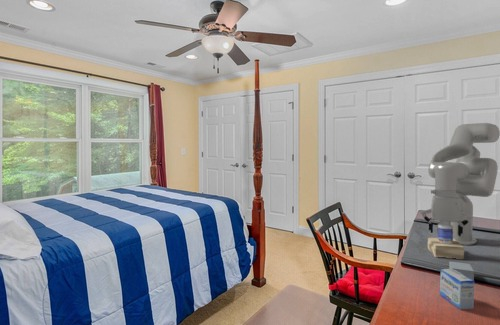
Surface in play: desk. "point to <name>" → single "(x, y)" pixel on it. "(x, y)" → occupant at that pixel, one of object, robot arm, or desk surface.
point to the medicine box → (457, 289)
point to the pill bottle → (445, 232)
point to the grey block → (462, 269)
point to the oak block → (446, 249)
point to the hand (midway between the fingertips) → (445, 233)
